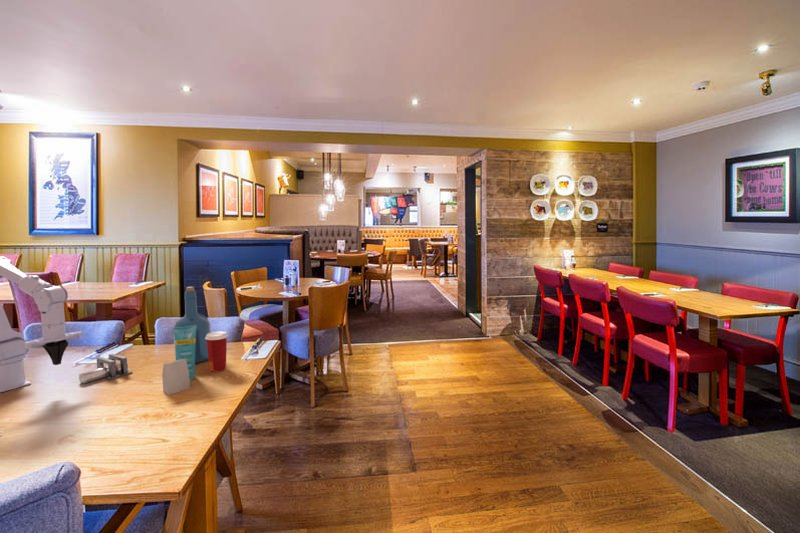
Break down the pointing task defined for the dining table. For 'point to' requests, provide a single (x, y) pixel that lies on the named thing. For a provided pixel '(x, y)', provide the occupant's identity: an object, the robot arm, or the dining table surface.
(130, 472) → the dining table surface
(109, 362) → the grey holder stand
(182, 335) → the tube
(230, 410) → the dining table surface
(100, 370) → the silver cylinder
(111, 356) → the collar
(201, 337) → the wine bottle
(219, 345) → the paper cup
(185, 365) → the tea bag
